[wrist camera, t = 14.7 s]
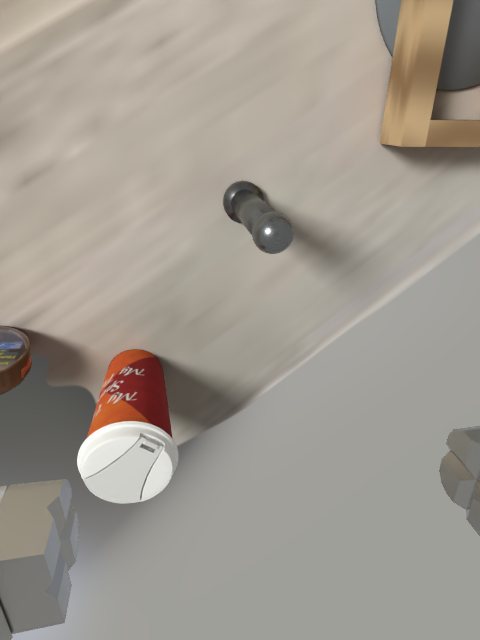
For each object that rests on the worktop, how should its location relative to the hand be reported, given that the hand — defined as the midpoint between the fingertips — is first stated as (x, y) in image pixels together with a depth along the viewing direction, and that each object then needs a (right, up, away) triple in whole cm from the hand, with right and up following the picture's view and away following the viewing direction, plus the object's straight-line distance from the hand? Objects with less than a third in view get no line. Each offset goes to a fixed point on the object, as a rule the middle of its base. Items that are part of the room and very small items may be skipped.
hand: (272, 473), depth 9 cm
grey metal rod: (0, +14, +30) cm, 33 cm away
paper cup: (-12, -2, +36) cm, 38 cm away
